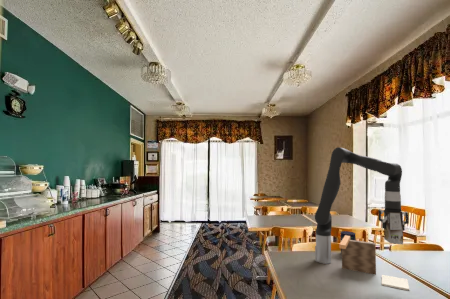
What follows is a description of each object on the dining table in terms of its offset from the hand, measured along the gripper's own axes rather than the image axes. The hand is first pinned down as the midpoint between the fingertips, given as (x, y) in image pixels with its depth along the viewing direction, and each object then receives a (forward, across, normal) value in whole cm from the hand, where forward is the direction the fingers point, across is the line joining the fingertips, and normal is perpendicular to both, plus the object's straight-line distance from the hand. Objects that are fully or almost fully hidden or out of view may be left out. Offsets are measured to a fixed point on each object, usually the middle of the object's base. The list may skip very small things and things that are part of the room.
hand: (393, 230), depth 147 cm
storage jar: (+28, -27, +40) cm, 56 cm away
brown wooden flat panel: (+28, -18, +9) cm, 34 cm away
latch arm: (+10, -24, -1) cm, 26 cm away
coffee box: (+6, 0, 0) cm, 6 cm away
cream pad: (+28, 0, 0) cm, 28 cm away
